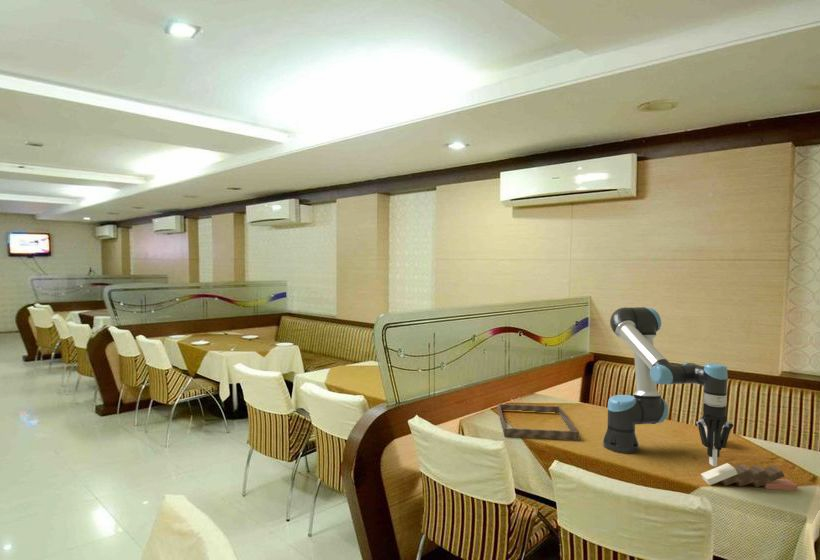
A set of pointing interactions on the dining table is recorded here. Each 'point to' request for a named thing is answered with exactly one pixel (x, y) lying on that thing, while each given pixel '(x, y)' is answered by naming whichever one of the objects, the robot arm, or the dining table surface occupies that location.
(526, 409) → the serving frame
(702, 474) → the domino
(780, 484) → the domino
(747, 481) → the domino
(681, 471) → the dining table surface
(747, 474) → the domino
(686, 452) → the dining table surface
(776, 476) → the domino
